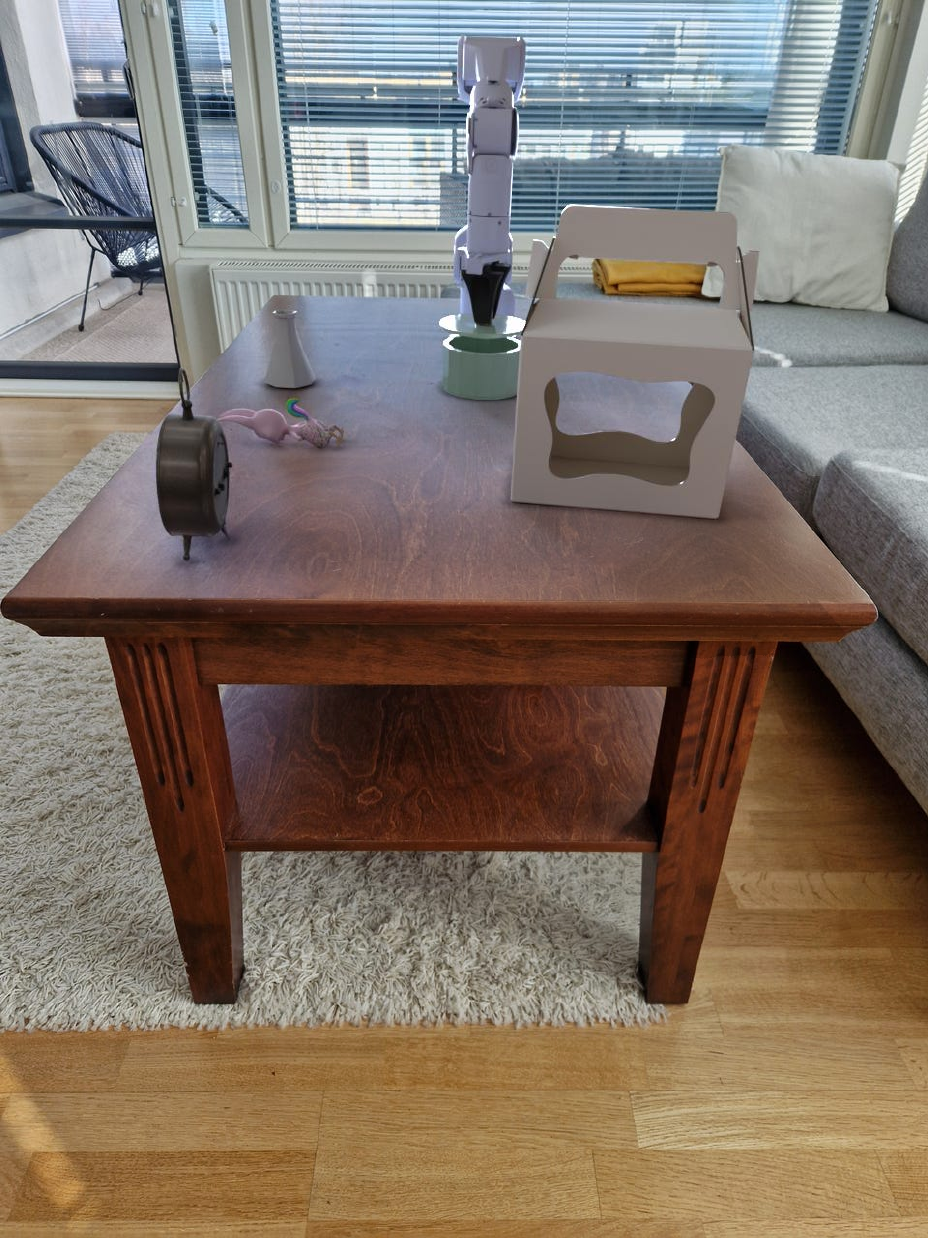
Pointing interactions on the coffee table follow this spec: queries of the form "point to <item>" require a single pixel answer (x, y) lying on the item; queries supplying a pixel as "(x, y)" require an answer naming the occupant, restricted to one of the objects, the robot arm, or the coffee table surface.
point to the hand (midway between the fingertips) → (484, 320)
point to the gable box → (634, 366)
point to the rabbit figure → (284, 425)
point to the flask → (288, 355)
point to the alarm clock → (192, 473)
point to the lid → (482, 326)
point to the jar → (481, 367)
